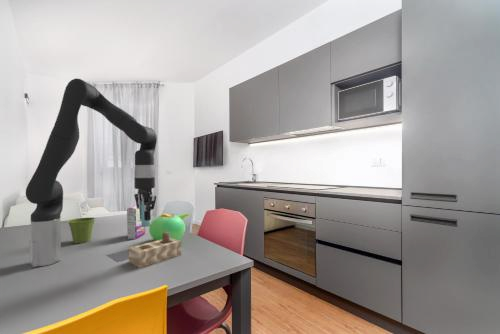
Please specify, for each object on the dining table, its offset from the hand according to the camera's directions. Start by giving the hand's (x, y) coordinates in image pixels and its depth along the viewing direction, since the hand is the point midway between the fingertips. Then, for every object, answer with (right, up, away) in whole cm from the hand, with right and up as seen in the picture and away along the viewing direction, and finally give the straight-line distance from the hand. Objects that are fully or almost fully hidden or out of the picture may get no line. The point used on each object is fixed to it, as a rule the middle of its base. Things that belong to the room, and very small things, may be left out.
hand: (145, 219), depth 98 cm
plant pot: (-44, -17, +28) cm, 55 cm away
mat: (-12, -17, +8) cm, 22 cm away
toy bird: (0, -17, +27) cm, 32 cm away
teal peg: (0, -3, 0) cm, 3 cm away
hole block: (+3, -17, +3) cm, 18 cm away
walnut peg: (+6, -17, +7) cm, 19 cm away
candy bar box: (-20, -17, +36) cm, 45 cm away
